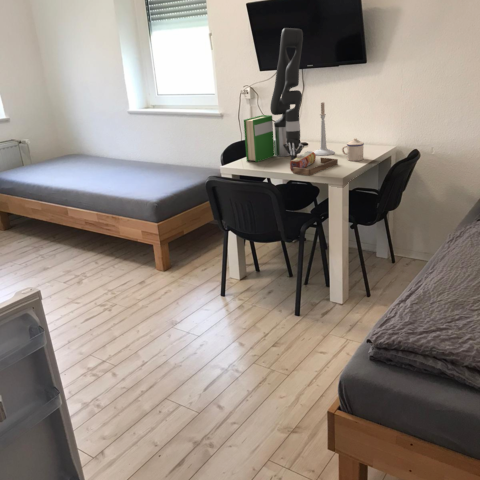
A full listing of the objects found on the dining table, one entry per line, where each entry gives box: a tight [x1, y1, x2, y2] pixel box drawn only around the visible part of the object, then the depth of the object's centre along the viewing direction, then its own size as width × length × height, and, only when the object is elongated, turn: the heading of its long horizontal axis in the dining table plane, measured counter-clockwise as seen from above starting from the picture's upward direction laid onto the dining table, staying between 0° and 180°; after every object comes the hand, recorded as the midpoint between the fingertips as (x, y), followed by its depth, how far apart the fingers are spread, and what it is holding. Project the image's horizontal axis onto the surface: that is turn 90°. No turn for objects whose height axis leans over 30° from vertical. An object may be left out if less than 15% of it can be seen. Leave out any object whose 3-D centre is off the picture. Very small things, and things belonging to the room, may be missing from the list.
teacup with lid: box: [341, 137, 365, 162], centre depth 285 cm, size 12×9×12 cm
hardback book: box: [243, 114, 275, 163], centre depth 303 cm, size 18×7×24 cm, turn 141°
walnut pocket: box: [292, 157, 339, 176], centre depth 272 cm, size 10×26×3 cm, turn 137°
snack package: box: [289, 150, 317, 172], centre depth 278 cm, size 21×7×7 cm, turn 150°
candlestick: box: [313, 101, 335, 157], centre depth 302 cm, size 13×13×30 cm
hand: (294, 161), depth 281 cm, fingers closed
